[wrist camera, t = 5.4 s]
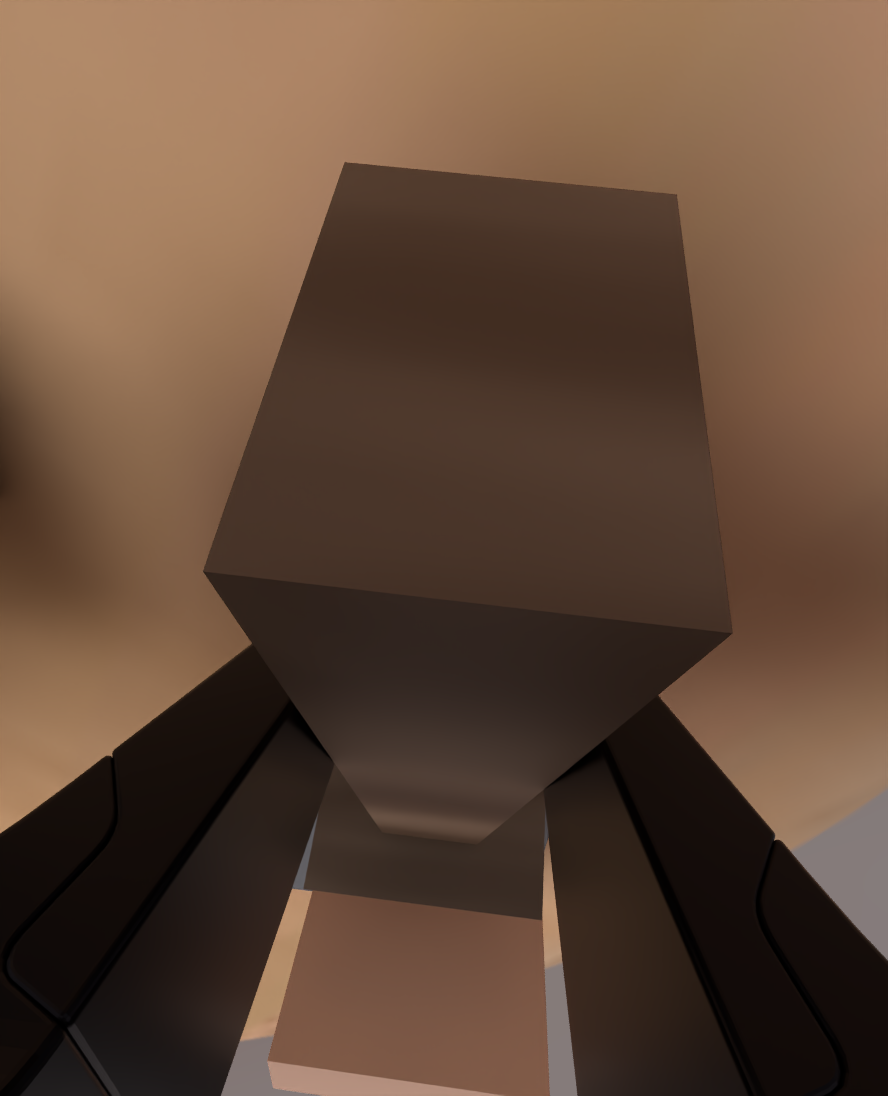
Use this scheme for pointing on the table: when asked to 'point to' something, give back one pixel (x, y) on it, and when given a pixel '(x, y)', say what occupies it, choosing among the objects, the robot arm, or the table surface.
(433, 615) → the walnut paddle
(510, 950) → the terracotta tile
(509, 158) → the table surface
